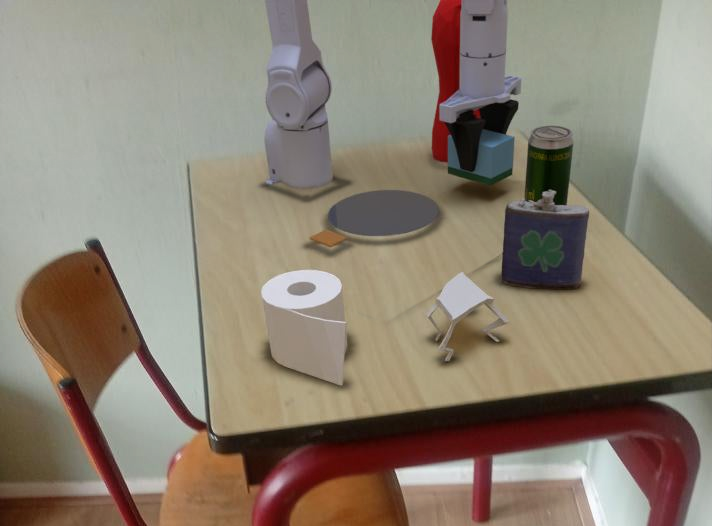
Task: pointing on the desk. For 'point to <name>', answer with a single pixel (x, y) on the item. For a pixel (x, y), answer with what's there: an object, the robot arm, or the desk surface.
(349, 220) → the plate
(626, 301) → the desk surface
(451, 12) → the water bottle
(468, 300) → the origami figure
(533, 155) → the beer can
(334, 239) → the orange cardboard box
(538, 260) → the flask
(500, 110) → the robot arm
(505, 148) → the sponge
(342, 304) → the toilet paper
